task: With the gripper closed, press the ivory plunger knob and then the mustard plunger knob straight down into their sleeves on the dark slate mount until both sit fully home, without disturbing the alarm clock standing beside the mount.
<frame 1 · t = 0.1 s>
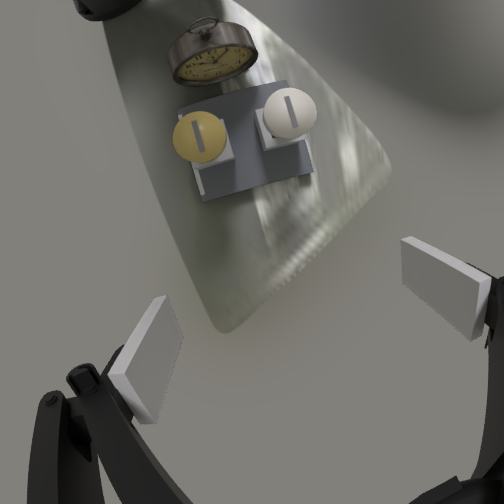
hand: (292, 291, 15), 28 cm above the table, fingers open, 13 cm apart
mount: (244, 139, 38), on the table
alarm clock: (216, 70, 35), on the table
knob ivory: (285, 118, 28), point 11 cm above the table, slide at 0.0 cm
knob mustard: (204, 140, 28), point 11 cm above the table, slide at 0.0 cm
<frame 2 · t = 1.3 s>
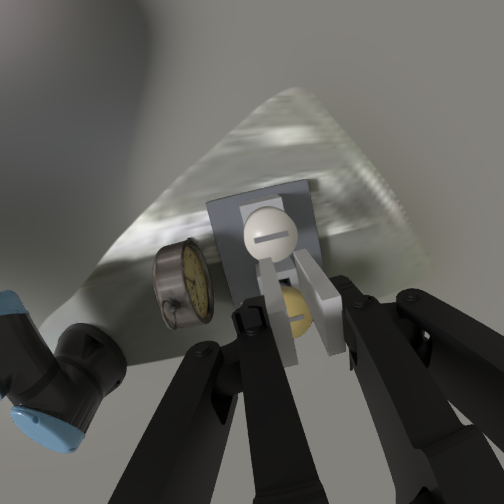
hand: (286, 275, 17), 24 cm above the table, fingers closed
mount: (268, 243, 41), on the table
alarm clock: (191, 267, 42), on the table
knob ivory: (267, 228, 30), point 11 cm above the table, slide at 0.0 cm
knob mustard: (284, 303, 33), point 11 cm above the table, slide at 0.0 cm
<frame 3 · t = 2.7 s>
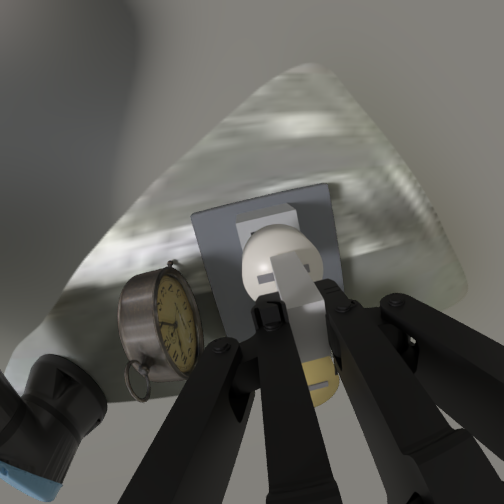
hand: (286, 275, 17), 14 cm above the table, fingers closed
mount: (274, 267, 31), on the table
alarm clock: (175, 297, 32), on the table
knob ivory: (276, 255, 21), point 10 cm above the table, slide at 0.9 cm, touching gripper
knob mustard: (298, 357, 23), point 11 cm above the table, slide at 0.0 cm
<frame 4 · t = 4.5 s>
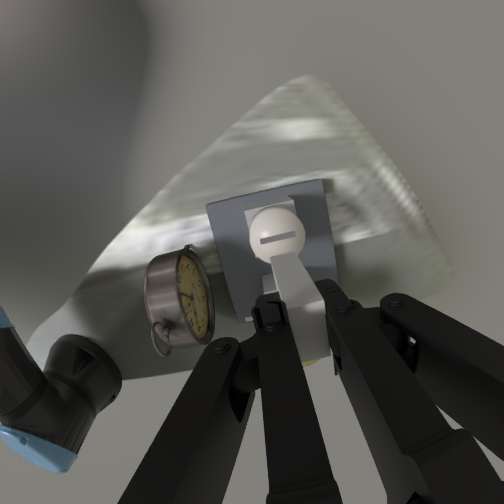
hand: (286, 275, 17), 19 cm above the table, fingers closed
mount: (276, 251, 37), on the table
alarm clock: (190, 277, 38), on the table
knob ivory: (273, 228, 29), point 7 cm above the table, slide at 4.1 cm
knob mustard: (295, 323, 28), point 11 cm above the table, slide at 0.0 cm
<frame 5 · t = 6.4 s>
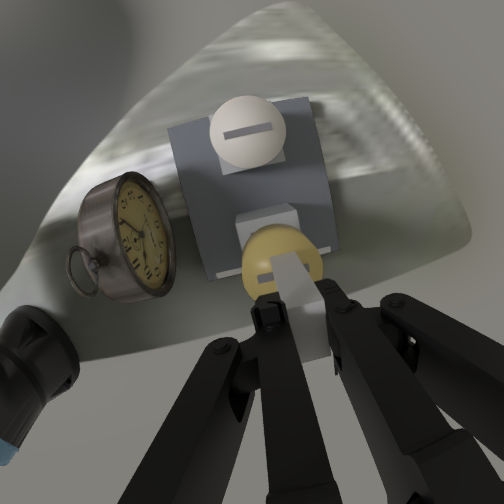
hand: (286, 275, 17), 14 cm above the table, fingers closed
mount: (256, 187, 29), on the table
alarm clock: (150, 224, 30), on the table
knob ivory: (246, 137, 21), point 7 cm above the table, slide at 4.1 cm
knob mustard: (276, 254, 21), point 9 cm above the table, slide at 1.3 cm, touching gripper
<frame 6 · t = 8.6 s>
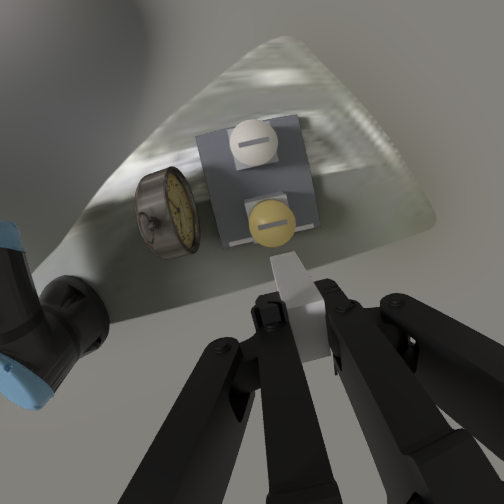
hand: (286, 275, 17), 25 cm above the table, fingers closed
mount: (258, 180, 39), on the table
alarm clock: (179, 207, 40), on the table
knob ivory: (252, 145, 32), point 7 cm above the table, slide at 4.1 cm
knob mustard: (269, 218, 34), point 7 cm above the table, slide at 4.1 cm
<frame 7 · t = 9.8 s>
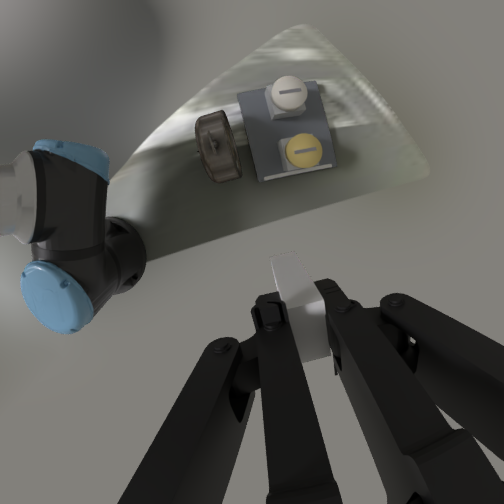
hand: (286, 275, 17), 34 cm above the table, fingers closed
mount: (286, 130, 46), on the table
alarm clock: (221, 150, 47), on the table
knob ivory: (286, 97, 39), point 7 cm above the table, slide at 4.1 cm
knob mustard: (299, 152, 41), point 7 cm above the table, slide at 4.1 cm
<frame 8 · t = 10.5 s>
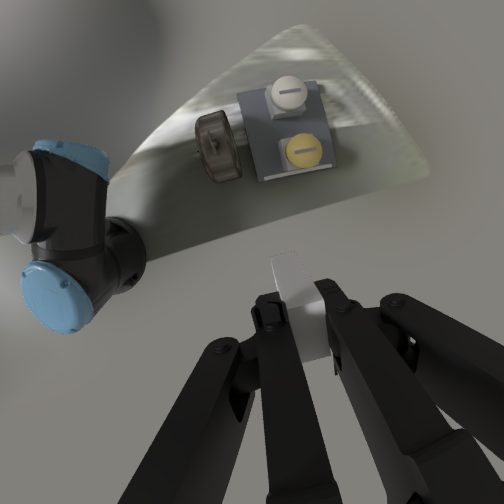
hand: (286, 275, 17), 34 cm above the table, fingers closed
mount: (286, 130, 46), on the table
alarm clock: (221, 150, 47), on the table
knob ivory: (286, 97, 39), point 7 cm above the table, slide at 4.1 cm
knob mustard: (299, 152, 41), point 7 cm above the table, slide at 4.1 cm
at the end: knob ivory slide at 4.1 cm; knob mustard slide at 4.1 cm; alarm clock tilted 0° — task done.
